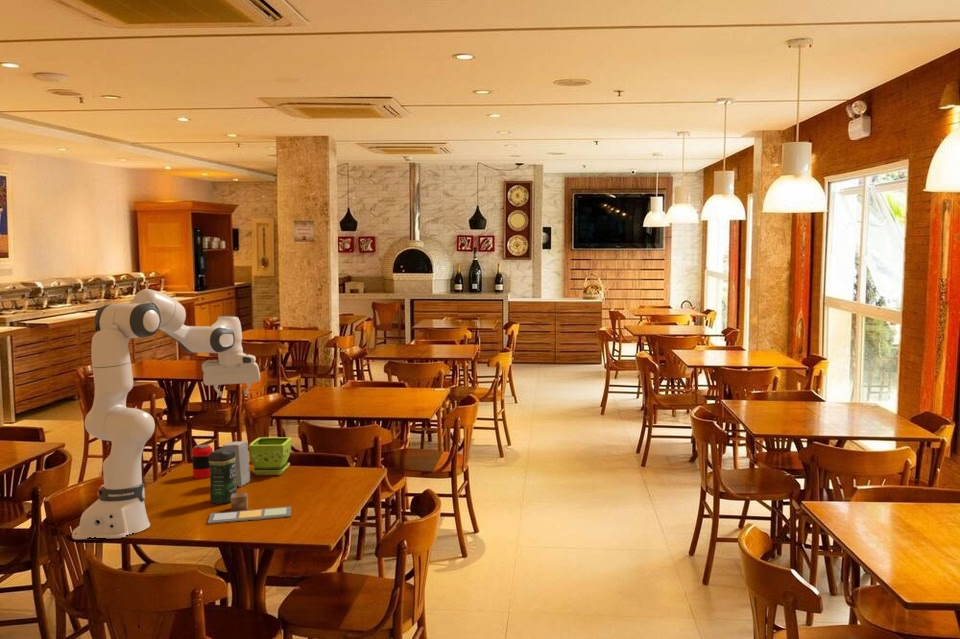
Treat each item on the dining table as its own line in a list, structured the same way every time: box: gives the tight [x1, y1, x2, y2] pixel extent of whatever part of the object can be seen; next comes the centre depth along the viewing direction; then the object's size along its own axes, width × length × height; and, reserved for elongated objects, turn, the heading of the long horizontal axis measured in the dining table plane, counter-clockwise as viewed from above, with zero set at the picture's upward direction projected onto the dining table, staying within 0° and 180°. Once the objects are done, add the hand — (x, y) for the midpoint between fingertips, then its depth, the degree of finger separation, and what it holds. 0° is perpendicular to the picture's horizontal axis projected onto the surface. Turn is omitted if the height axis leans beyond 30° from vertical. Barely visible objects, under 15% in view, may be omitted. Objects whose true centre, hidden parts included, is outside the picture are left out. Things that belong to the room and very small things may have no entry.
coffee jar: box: [209, 446, 238, 505], centre depth 294 cm, size 10×8×19 cm
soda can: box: [191, 444, 213, 480], centre depth 328 cm, size 8×8×12 cm
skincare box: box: [222, 440, 251, 488], centre depth 315 cm, size 8×7×16 cm
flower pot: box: [248, 436, 293, 476], centre depth 331 cm, size 14×14×13 cm
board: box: [206, 505, 292, 525], centre depth 276 cm, size 26×10×1 cm, turn 102°
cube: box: [230, 491, 249, 512], centre depth 284 cm, size 5×5×5 cm
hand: (233, 395), depth 312 cm, fingers open, 8 cm apart
